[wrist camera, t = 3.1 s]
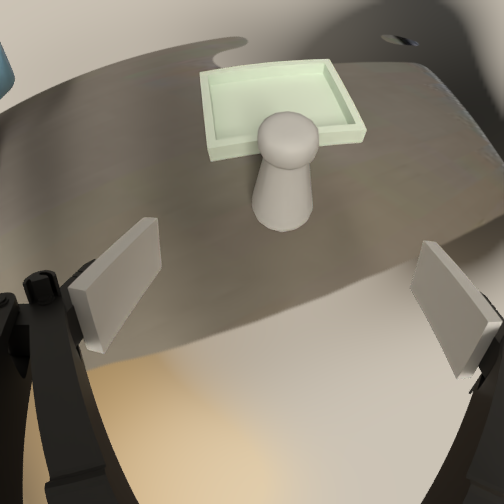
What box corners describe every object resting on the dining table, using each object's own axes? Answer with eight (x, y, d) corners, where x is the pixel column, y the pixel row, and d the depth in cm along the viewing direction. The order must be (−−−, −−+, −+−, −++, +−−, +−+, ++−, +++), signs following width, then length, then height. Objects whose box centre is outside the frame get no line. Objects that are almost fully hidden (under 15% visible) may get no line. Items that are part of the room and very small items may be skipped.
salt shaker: (295, 249, 30) (313, 176, 18) (242, 225, 31) (228, 143, 19) (318, 202, 32) (343, 116, 20) (268, 180, 33) (268, 89, 21)
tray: (210, 161, 34) (207, 148, 32) (202, 84, 39) (199, 72, 36) (361, 142, 34) (366, 129, 32) (327, 71, 39) (329, 59, 37)
